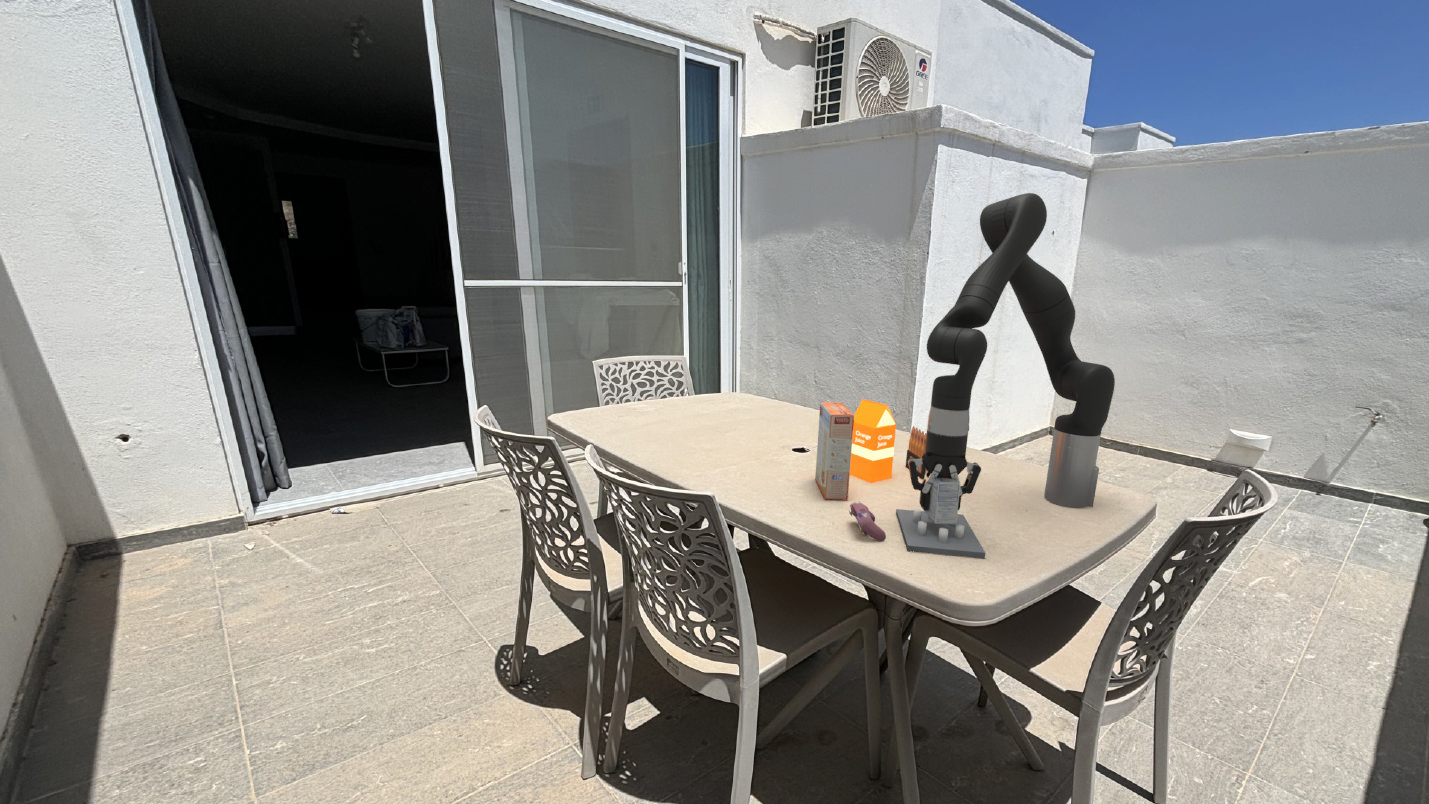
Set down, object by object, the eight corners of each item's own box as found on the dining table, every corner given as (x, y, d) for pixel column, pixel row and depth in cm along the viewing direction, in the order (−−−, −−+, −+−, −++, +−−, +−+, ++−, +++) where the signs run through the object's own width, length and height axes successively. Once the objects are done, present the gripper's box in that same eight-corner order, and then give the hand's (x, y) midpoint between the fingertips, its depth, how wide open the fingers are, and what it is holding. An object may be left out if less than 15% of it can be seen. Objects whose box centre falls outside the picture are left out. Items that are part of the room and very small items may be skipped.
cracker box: (849, 501, 134) (855, 414, 130) (823, 500, 134) (828, 413, 130) (837, 480, 148) (843, 401, 143) (814, 479, 148) (819, 400, 143)
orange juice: (871, 483, 146) (877, 407, 142) (846, 473, 153) (851, 400, 149) (892, 478, 150) (898, 403, 146) (866, 468, 158) (872, 397, 153)
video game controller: (856, 528, 123) (843, 500, 122) (875, 519, 123) (863, 491, 122) (867, 549, 114) (853, 519, 112) (888, 540, 113) (875, 510, 112)
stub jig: (962, 519, 125) (964, 504, 124) (984, 558, 107) (987, 541, 107) (895, 514, 127) (897, 498, 126) (907, 551, 110) (908, 533, 109)
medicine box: (956, 525, 113) (961, 483, 111) (934, 524, 113) (938, 482, 111) (942, 509, 120) (946, 470, 118) (920, 508, 120) (924, 469, 118)
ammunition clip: (905, 466, 159) (908, 425, 157) (911, 466, 160) (915, 425, 157) (923, 480, 149) (927, 435, 146) (930, 480, 149) (934, 435, 147)
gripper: (981, 426, 115) (971, 506, 119) (907, 422, 117) (899, 500, 121) (991, 436, 108) (981, 521, 111) (912, 431, 110) (904, 514, 114)
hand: (938, 509), depth 116 cm, fingers closed on medicine box, 5 cm apart
